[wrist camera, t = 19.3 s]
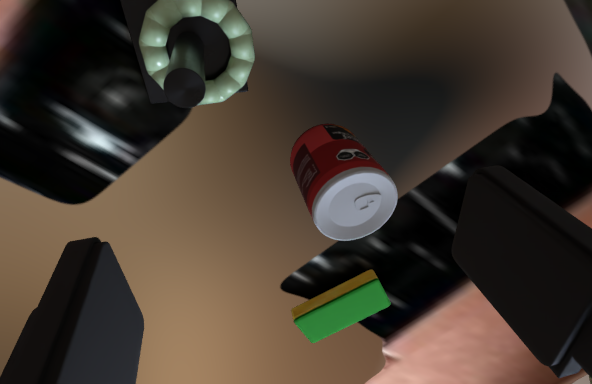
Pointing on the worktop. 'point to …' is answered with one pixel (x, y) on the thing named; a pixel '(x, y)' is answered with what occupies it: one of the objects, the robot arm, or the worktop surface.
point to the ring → (216, 7)
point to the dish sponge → (341, 306)
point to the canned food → (341, 183)
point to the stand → (182, 56)
